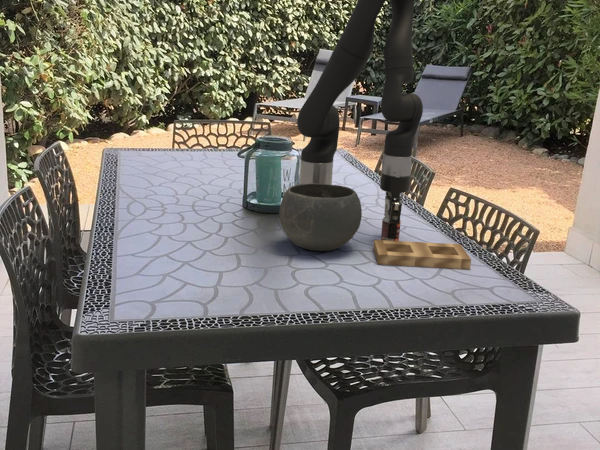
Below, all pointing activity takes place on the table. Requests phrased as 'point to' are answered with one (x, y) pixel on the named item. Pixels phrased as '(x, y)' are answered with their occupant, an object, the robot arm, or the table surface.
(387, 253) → the holder block
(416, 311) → the table surface
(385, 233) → the pill bottle
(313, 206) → the bowl
